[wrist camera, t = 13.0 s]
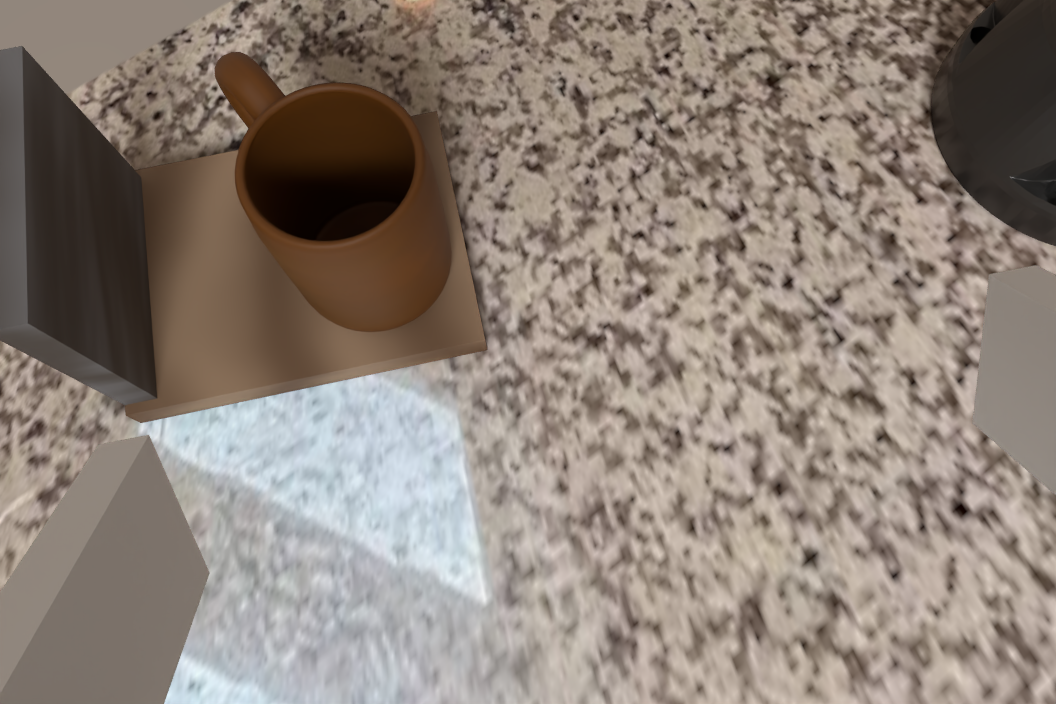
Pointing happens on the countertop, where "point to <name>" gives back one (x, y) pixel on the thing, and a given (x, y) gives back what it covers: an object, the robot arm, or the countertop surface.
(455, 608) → the countertop surface
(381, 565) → the countertop surface
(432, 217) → the mug
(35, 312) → the shelf
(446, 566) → the countertop surface
